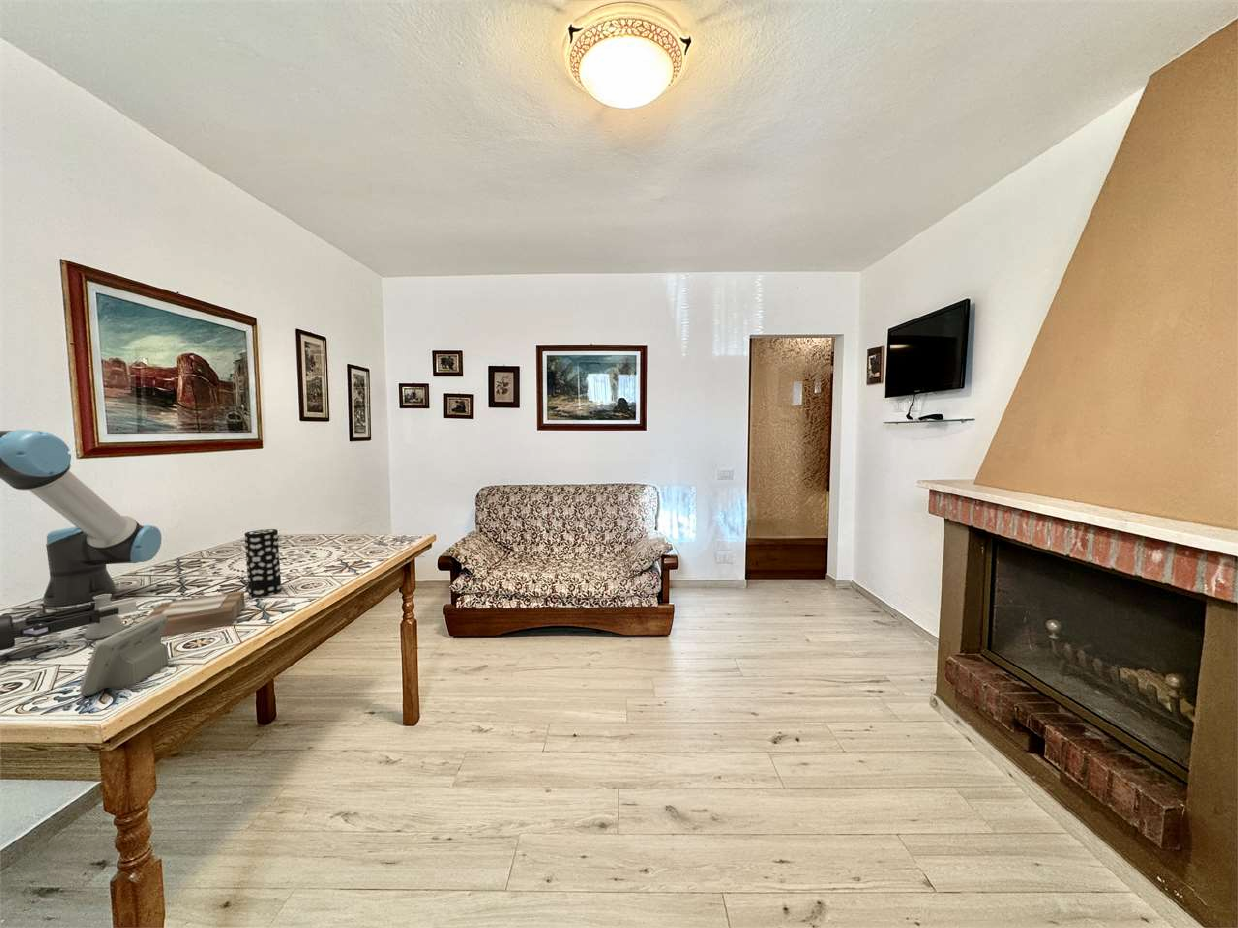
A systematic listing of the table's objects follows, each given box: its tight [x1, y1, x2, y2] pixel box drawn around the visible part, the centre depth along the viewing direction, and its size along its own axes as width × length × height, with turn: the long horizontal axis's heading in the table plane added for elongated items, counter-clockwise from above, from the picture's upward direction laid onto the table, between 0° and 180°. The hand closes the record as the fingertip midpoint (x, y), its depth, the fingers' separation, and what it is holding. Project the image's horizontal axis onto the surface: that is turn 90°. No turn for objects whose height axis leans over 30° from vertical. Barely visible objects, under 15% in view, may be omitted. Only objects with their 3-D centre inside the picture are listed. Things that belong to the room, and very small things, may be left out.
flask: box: [83, 594, 128, 640], centre depth 118 cm, size 7×7×10 cm
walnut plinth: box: [140, 590, 245, 638], centre depth 126 cm, size 18×18×4 cm
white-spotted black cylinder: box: [244, 528, 282, 598], centre depth 147 cm, size 8×8×20 cm
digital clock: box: [79, 614, 169, 696], centre depth 96 cm, size 16×9×11 cm, turn 179°
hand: (134, 604), depth 122 cm, fingers closed on flask, 3 cm apart
